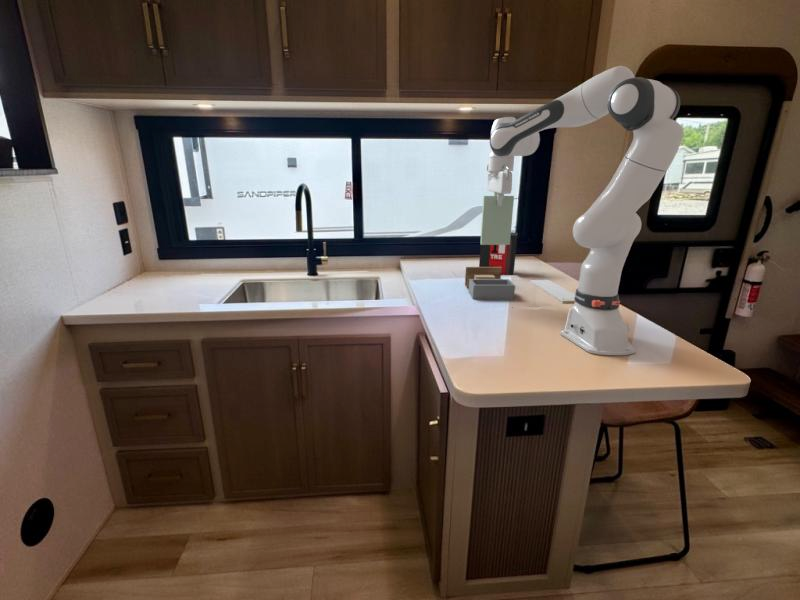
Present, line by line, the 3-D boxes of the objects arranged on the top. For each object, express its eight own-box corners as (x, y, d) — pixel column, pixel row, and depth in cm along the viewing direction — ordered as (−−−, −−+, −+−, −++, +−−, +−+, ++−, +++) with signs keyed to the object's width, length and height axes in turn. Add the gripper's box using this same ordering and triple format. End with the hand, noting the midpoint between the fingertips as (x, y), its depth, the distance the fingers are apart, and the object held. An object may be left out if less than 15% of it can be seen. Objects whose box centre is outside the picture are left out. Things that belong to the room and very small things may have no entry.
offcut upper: (494, 283, 169) (495, 276, 168) (475, 283, 168) (475, 276, 168) (492, 281, 172) (493, 274, 171) (473, 281, 172) (474, 274, 171)
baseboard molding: (554, 282, 191) (529, 283, 190) (555, 276, 190) (530, 277, 189) (591, 303, 161) (562, 304, 160) (592, 296, 161) (563, 297, 159)
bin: (513, 302, 160) (515, 285, 158) (472, 302, 159) (473, 285, 157) (507, 295, 168) (508, 279, 166) (468, 295, 168) (469, 279, 166)
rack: (505, 295, 169) (507, 272, 166) (468, 295, 169) (470, 272, 166) (498, 288, 179) (500, 266, 176) (464, 288, 178) (465, 266, 176)
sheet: (509, 244, 157) (514, 196, 151) (481, 244, 156) (484, 196, 151) (508, 244, 158) (512, 195, 153) (480, 244, 158) (483, 195, 152)
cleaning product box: (478, 274, 202) (481, 233, 196) (480, 270, 210) (483, 231, 204) (513, 277, 198) (517, 235, 191) (513, 272, 206) (517, 232, 200)
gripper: (518, 165, 139) (514, 207, 143) (502, 166, 158) (499, 203, 162) (499, 165, 139) (496, 207, 143) (485, 166, 158) (483, 203, 162)
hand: (498, 205), depth 153 cm, fingers closed on sheet, 2 cm apart
